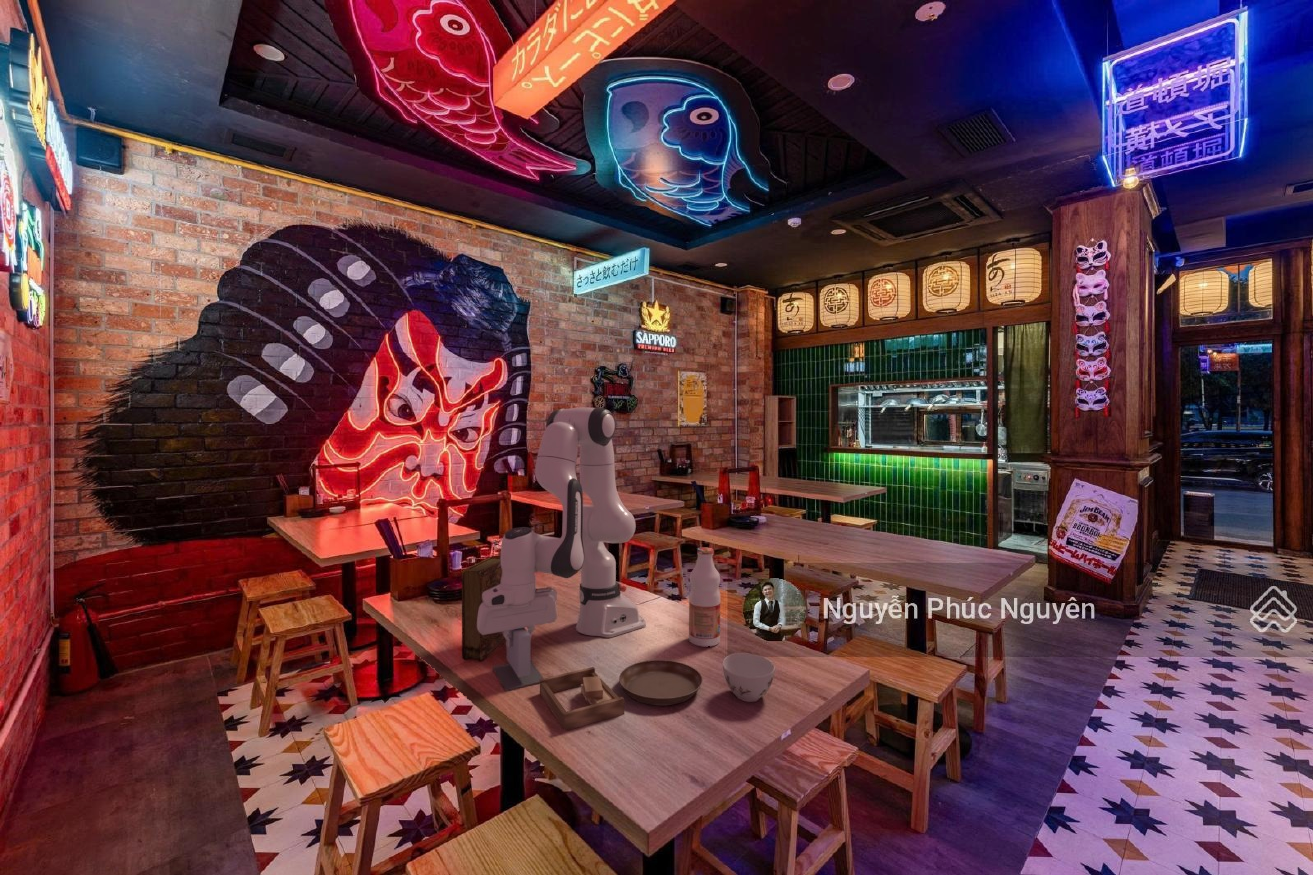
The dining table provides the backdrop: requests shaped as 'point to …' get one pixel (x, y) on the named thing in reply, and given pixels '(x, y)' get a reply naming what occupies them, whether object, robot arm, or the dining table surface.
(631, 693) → the plant saucer
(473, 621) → the book
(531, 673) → the mat
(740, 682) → the teacup
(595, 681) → the offcut short
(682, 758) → the dining table surface
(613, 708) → the brown open frame piece
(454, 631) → the dining table surface
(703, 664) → the dining table surface
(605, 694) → the block
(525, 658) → the block
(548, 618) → the robot arm
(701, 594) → the fruit juice
